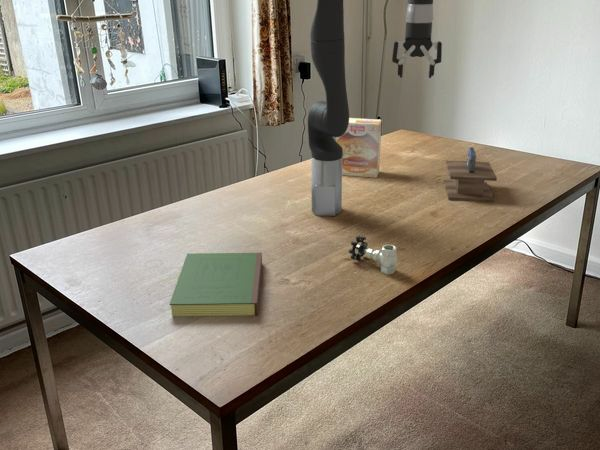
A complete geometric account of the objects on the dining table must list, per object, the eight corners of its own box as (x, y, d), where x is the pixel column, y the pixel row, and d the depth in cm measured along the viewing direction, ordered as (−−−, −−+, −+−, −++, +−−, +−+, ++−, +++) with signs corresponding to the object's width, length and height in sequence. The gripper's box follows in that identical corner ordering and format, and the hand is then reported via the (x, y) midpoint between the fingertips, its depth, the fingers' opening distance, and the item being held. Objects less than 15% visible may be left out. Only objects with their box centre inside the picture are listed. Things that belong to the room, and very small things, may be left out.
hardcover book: (257, 317, 130) (256, 303, 129) (171, 318, 130) (169, 304, 128) (262, 264, 153) (261, 251, 152) (188, 265, 153) (187, 252, 151)
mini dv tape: (466, 164, 198) (468, 147, 196) (471, 165, 198) (473, 147, 195) (469, 172, 191) (471, 154, 188) (474, 173, 190) (476, 155, 188)
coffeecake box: (335, 175, 214) (336, 121, 206) (338, 168, 221) (339, 116, 213) (377, 178, 211) (379, 123, 203) (379, 171, 217) (382, 118, 209)
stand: (493, 201, 189) (496, 177, 186) (448, 199, 191) (450, 176, 188) (486, 184, 204) (488, 162, 201) (444, 182, 206) (446, 160, 202)
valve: (402, 269, 149) (364, 254, 157) (404, 245, 146) (365, 231, 154) (387, 278, 145) (348, 263, 152) (388, 254, 142) (349, 239, 150)
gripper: (443, 19, 175) (438, 75, 182) (394, 19, 177) (391, 74, 183) (445, 21, 168) (440, 80, 175) (394, 21, 170) (391, 79, 177)
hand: (415, 77), depth 179 cm, fingers open, 8 cm apart
